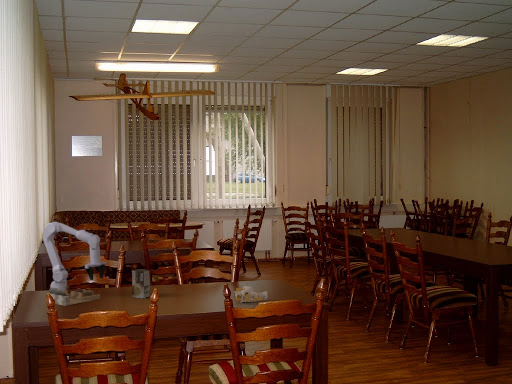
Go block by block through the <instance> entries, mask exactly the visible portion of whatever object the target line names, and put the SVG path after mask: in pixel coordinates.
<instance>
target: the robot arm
mask: <svg viewBox="0 0 512 384" xmlns="http://www.w3.org/2000/svg"><path fill="white" fill-rule="evenodd" d="M59 232H65V233H66V234H70V235H73V236H75V237H76V239H77V240H79V241H82V242H84V243H85V244H86V243H87V244H88V245H89V260H90V263H89V264H88V263H87V264H85V265H84V270H85V272H86V273H87V275H88V277H89V280H90V281H94V272H95V268H96V267H97V269H98V270H97V271H98V276H99V278H100V279H103V278H104V273H105V270H106V269H107V261H101V249H100V242H101V238H100V236H98V235H97V234H93V233H91V232H88V231H86V229H80V230H77V229H75V228H73V227H70V226H69V225H66V224H64V223H63V222H62V223H61V222H58V221H53V222H48V223H47V224H46V225H45V227H44V229H43V237H42V240H43V244H44V246H45V249H46V252H47V254H48V258H49V261H50V263H51V265H52V266H51V267H52V279H53V281H51V284H50V286H49V287H50V288H57V289H64V290H65V286H68V280H67V279H68V276H69V273H68V271H67V270H66V269H65V266H64V265H63V264H62V262H61V257H60V256H59V253H58V250H57V247H56V244H55V242H54V238H55V236H56V235H57V233H59ZM50 288H49V289H50Z"/></svg>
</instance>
